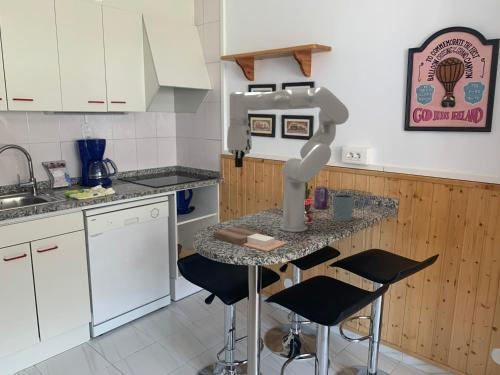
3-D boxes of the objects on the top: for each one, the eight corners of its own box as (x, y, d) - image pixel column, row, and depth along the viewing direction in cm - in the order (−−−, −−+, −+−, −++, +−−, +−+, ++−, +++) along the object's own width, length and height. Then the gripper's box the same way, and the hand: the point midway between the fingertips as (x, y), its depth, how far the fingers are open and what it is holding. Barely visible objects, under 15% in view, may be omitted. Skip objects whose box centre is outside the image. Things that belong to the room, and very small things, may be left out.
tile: (256, 239, 160) (256, 233, 159) (274, 243, 154) (274, 237, 153) (247, 242, 155) (247, 236, 155) (265, 247, 149) (265, 241, 149)
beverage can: (329, 208, 219) (330, 187, 216) (322, 210, 214) (323, 188, 212) (319, 206, 223) (319, 185, 221) (311, 208, 218) (312, 187, 216)
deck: (235, 230, 173) (235, 225, 172) (262, 237, 163) (262, 231, 163) (213, 238, 162) (213, 232, 162) (240, 245, 153) (240, 239, 152)
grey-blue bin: (330, 220, 191) (331, 196, 189) (333, 216, 200) (334, 193, 198) (351, 222, 187) (353, 198, 185) (354, 218, 197) (355, 194, 195)
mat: (263, 237, 163) (263, 236, 163) (287, 243, 155) (287, 242, 155) (243, 245, 153) (243, 244, 153) (267, 251, 145) (267, 250, 145)
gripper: (258, 122, 159) (258, 167, 162) (231, 122, 168) (231, 165, 171) (247, 122, 153) (247, 169, 156) (219, 122, 162) (219, 166, 166)
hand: (238, 167), depth 164 cm, fingers closed
